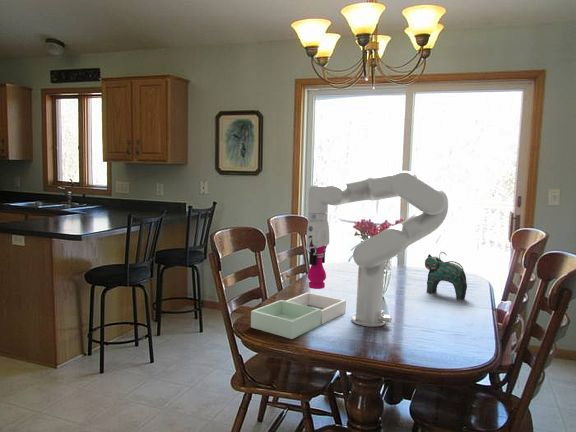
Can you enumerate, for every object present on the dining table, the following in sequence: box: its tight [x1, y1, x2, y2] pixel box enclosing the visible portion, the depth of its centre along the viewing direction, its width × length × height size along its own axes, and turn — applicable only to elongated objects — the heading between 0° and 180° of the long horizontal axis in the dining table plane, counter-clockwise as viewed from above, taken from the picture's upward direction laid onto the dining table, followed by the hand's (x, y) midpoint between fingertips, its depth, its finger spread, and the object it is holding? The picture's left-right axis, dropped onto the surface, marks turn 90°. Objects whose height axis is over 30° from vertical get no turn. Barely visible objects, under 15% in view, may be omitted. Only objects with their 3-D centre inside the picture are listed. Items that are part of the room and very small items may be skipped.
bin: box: [250, 299, 322, 340], centre depth 169 cm, size 18×18×6 cm
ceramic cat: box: [424, 251, 468, 301], centre depth 215 cm, size 20×6×20 cm, turn 41°
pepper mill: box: [307, 245, 327, 290], centre depth 182 cm, size 7×7×20 cm
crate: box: [285, 291, 347, 325], centre depth 184 cm, size 18×18×5 cm
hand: (317, 263), depth 182 cm, fingers closed on pepper mill, 5 cm apart
